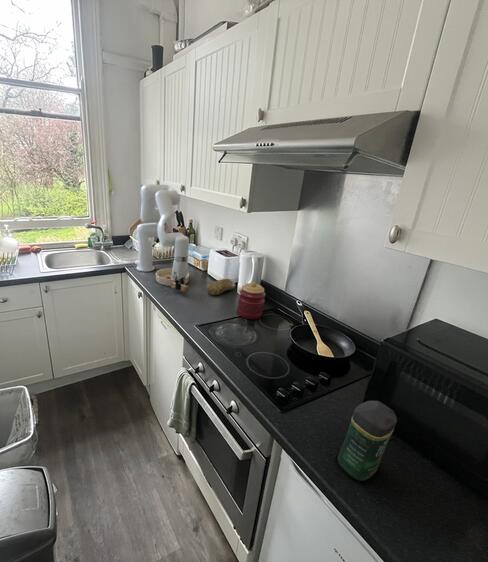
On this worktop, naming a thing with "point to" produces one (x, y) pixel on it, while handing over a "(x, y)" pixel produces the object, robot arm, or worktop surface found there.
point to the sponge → (220, 286)
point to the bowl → (165, 273)
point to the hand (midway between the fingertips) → (179, 288)
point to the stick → (183, 287)
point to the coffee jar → (366, 439)
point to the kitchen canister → (251, 301)
